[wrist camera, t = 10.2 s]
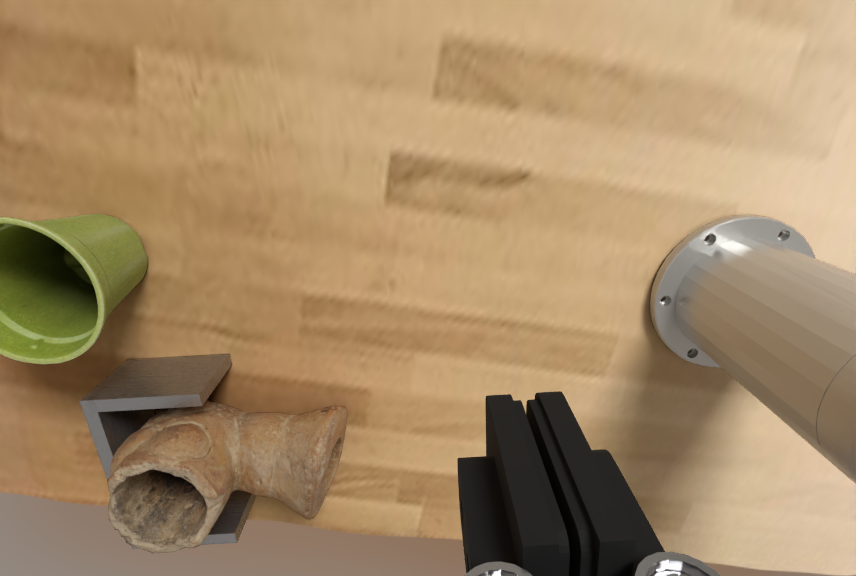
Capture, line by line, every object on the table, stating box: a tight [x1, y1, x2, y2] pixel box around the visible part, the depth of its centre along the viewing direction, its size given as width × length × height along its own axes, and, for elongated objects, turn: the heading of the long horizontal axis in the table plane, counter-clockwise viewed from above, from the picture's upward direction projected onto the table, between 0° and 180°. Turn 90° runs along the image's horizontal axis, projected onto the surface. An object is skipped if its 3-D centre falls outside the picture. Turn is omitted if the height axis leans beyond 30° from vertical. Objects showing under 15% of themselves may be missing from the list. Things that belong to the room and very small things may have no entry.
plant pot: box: [0, 214, 148, 364], centre depth 33 cm, size 9×9×9 cm
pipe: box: [107, 400, 347, 553], centre depth 38 cm, size 9×16×10 cm, turn 87°
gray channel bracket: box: [80, 354, 256, 549], centre depth 40 cm, size 8×14×6 cm, turn 3°
